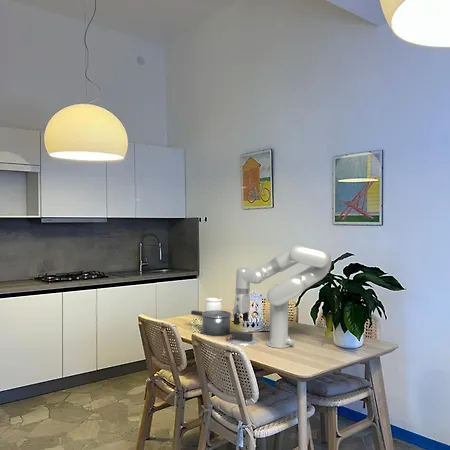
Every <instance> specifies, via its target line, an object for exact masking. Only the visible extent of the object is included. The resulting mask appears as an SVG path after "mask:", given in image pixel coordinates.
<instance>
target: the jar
mask: <svg viewBox="0 0 450 450" xmlns="http://www.w3.org/2000/svg"><path fill="white" fill-rule="evenodd" d="M222 302H223V298H222V297H218V296H217V297H216V296H215V297H214V296H213V297H212V296H210V297H205V307H204V312H205V311H211V310H220V311H223V303H222Z"/></svg>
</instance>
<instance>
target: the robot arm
mask: <svg viewBox="0 0 450 450" xmlns="http://www.w3.org/2000/svg"><path fill="white" fill-rule="evenodd" d="M296 264H302V265H304V266H305V265H306V266H309V267H307V268H306V269H304V270H302V271H301V272H298V273H296V274H294V275H292V276H290V277H289V278H287V279H286V280H283V282H282V281H281V282H280V283H278V284H275V285H273V286H272V287H271V288H270V289H269V290H268V292H267V293H266V296H267V297H266V298H267V301H268V303H269V304H270V307H269V340H266V346H268V347H271V348H277V349H284V348H289V347H291V346H292V345H294V346H295V343H296V341H295V339H291V337H290V335H289V306H290V305H289V304H290V301H291V300H293V299H295V298H297V297H299V296H300V295H301V294H302V293H304V291H305V290H307V289H308V288H310V287H311V286H314V285H315V284H316V283H318V282H321V280H323V279H324V278H325V277H326V276H327V274H328V273H329V272H330V270H331V266H332V256H331V253H330V252H329V251H328V250H326V249H319V250H318V249H314V248H311V247H306V245H304V244H300V243H297V244H295V245H293V246H292V247H290V248H288V249H287V250H284V251H283V252H281V253H279V254H277V255H276V256H274V257H273V258H272V259H271V260H269V261H267V262H265V263H264V264H263V265H260V266H259V267H257V268H255V269H250V268H248V267H238V268H237V269H236V272H235V273H236V277H235V297H234V305H233V306H234V308H233V309H232V316H233V325H236V326H239V325H240V316H241V314H242V321H243V322H249V315H250V311H251V295H250V287H251V284H254V285H257V284H261V283H262V282H264V281H265V280H267V279H269V278H271V277H272V276H275V275H277V273H281V272H284V271H286V270H288V269H289V268H291V267H293V266H295V265H296Z"/></svg>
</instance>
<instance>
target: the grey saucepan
mask: <svg viewBox="0 0 450 450" xmlns="http://www.w3.org/2000/svg"><path fill="white" fill-rule="evenodd" d="M190 311H191V312H190V314H191V315H193V316H199V317H202V324H201V325H202V329H201V331H202V334H203V335H205V336H208V337H209V336H210V337H225V336H228V335H230V334H231V316H232V313H231V312H230V311H226V310H222V311H220V310H211V311H205V310H204V311H200V310H196V309H195V310H190Z"/></svg>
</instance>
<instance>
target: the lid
mask: <svg viewBox="0 0 450 450" xmlns="http://www.w3.org/2000/svg"><path fill="white" fill-rule="evenodd" d="M253 335H254V334H253V332H247V331H241V330H236V329H235V330H232V331H231V336H226V340H225V341H226V343H227V342H228V344H229V343H231V344H230V345H232V344H234V345H233V346H239V347H248V346H255V345H257V344H258V343H259V339H258V338H257V337H255V336H253Z"/></svg>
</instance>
